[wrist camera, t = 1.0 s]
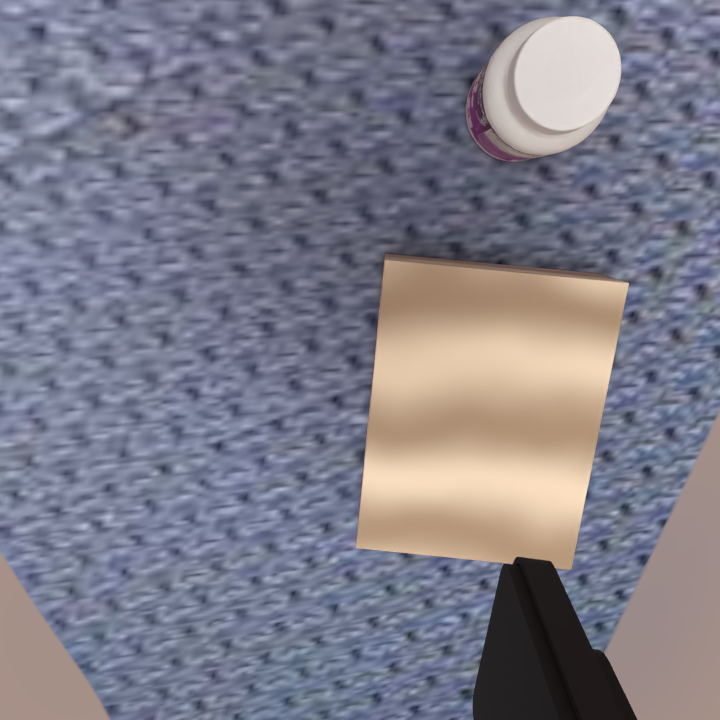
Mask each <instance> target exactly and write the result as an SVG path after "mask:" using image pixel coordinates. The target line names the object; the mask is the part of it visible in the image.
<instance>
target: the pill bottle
mask: <svg viewBox="0 0 720 720" xmlns="http://www.w3.org/2000/svg"><path fill="white" fill-rule="evenodd" d="M620 78H621V59H620V54H619V50H618V48H617V45H616V43H615V41H614V39H613V38H612V36H611V35H610V34H609V33H608V31H607V30H606V29H604V28H603V27H602V26H601V25H600V24H598V23H597V22H595V21H593V20H590V19H588V18H584V17H579V16H567V17H545V18H540V19H536V20H534V21H531V22H529V23H526V24H524V25H523V26H521V27H519V28H518V29H516V30H515V31H514V32H512V33H511V34H510V35H509V36H508V37H507V38H506V39H505V40H504V41H503V42H502V43H501V44H500V45H499V46H498V48H497V49H496V50H495V52H494V53H493V55H492V56H491V57H490V59H489V60H488V61H487V63H486V64H485V65H484V67H483V68H482V70H481V71H480V73H479V74H478V76H477V77H476V79H475V80H474V82H473V84H472V86H471V88H470V91H469V94H468V97H467V103H466V120H467V124H468V128H469V131H470V133H471V135H472V137H473V139H474V140H475V142H476V143H477V144H478V146H479V147H480V148H481V149H482V150H483V151H484V152H486V153H487V154H489V155H490V156H492V157H494V158H497V159H500V160H503V161H509V162H520V161H526V160H530V159H534V158H538V157H543V156H547V155H551V154H556V153H559V152H563V151H565V150H567V149H569V148H571V147H573V146H575V145H577V144H578V143H580V142H581V141H583V140H584V139H585V138H586V137H587V136H589V135H590V134H591V133H592V131H593V130H594V129H595V128H596V127H597V126H598V124H599V123H600V122H601V120H602V118H603V117H604V115H605V113H606V111H607V109H608V106H609V105H610V103H611V102H612V100H613V98H614V97H615V94H616V92H617V89H618V86H619V83H620Z"/></svg>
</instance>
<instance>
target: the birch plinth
mask: <svg viewBox="0 0 720 720" xmlns="http://www.w3.org/2000/svg"><path fill="white" fill-rule="evenodd" d="M628 285H629V283H627V282H624V281H621V280H618V279H615V278H612V277H609V276H606V275H603V274H597V273H586V272H576V271H565V270H555V269H544V268H534V267H523V266H513V265H502V264H492V263H481V262H471V261H460V260H450V259H439V258H429V257H418V256H408V255H397V254H387V253H385V258H384V268H383V278H382V287H381V297H380V307H379V317H378V327H377V337H376V347H375V357H374V367H373V377H372V387H371V397H370V407H369V417H368V427H367V437H366V447H365V457H364V467H363V477H362V487H361V497H360V507H359V518H358V531H357V543H356V548H362V549H372V550H382V551H392V552H402V553H412V554H421V555H431V556H441V557H451V558H461V559H471V560H480V561H490V562H500V563H510V564H513V562H514V560H515V558H516V557H525V558H532V559H540V560H547V561H551V562H552V563H553V565H554V567H555V568H559V569H569V570H571V567H572V562H573V557H574V553H575V548H576V543H577V538H578V533H579V528H580V523H581V518H582V513H583V508H584V503H585V498H586V493H587V488H588V483H589V478H590V473H591V468H592V463H593V458H594V453H595V449H596V444H597V439H598V434H599V429H600V424H601V419H602V414H603V409H604V404H605V399H606V394H607V389H608V384H609V379H610V374H611V369H612V364H613V359H614V354H615V350H616V345H617V340H618V335H619V330H620V325H621V320H622V315H623V310H624V305H625V300H626V295H627V290H628Z"/></svg>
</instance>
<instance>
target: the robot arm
mask: <svg viewBox="0 0 720 720" xmlns="http://www.w3.org/2000/svg"><path fill="white" fill-rule="evenodd" d="M473 718H474V720H637V718H636V716H635V714H634V712H633V710H632V708H631V706H630V704H629V701H628V699H627V697H626V695H625V693H624V691H623V689H622V687H621V685H620V683H619V681H618V679H617V677H616V675H615V673H614V671H613V668H612V666H611V664H610V662H609V661H608V659H607V657H606V656H605V654H604V653H603V652H601V651H600V650H596V649H592V647H591V645H590V643H589V641H588V638H587V636H586V634H585V632H584V630H583V628H582V625H581V623H580V621H579V619H578V617H577V615H576V612H575V610H574V608H573V606H572V604H571V602H570V599H569V597H568V595H567V593H566V591H565V589H564V586H563V584H562V582H561V580H560V578H559V576H558V573H557V571H556V569H555V567H554V565H553V563H552V562H551V561H547V560H540V559H532V558H525V557H516V558H515V560H514V562H513V565H511V564H504V565H503V566H502V569H501V572H500V577H499V581H498V586H497V590H496V595H495V599H494V604H493V608H492V613H491V617H490V622H489V626H488V631H487V635H486V640H485V644H484V649H483V653H482V658H481V662H480V667H479V671H478V676H477V680H476V685H475V689H474V695H473Z"/></svg>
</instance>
